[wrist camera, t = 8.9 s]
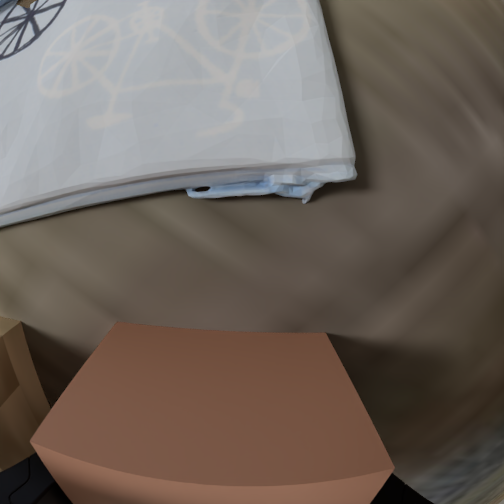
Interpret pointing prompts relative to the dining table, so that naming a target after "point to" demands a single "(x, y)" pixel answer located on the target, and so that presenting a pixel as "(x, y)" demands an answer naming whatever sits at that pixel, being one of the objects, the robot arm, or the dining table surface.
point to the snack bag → (166, 102)
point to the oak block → (18, 396)
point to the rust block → (212, 422)
